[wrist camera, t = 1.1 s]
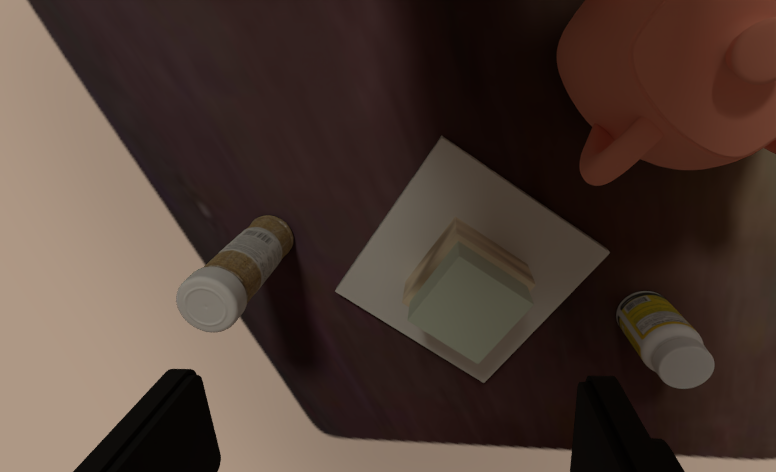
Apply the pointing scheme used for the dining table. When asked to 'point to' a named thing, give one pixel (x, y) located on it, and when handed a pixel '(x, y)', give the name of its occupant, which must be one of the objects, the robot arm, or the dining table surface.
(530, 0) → the dining table surface
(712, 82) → the teapot
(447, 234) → the birch block
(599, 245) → the base plate
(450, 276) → the sage block
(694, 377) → the supplement bottle
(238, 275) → the sprinkles bottle
